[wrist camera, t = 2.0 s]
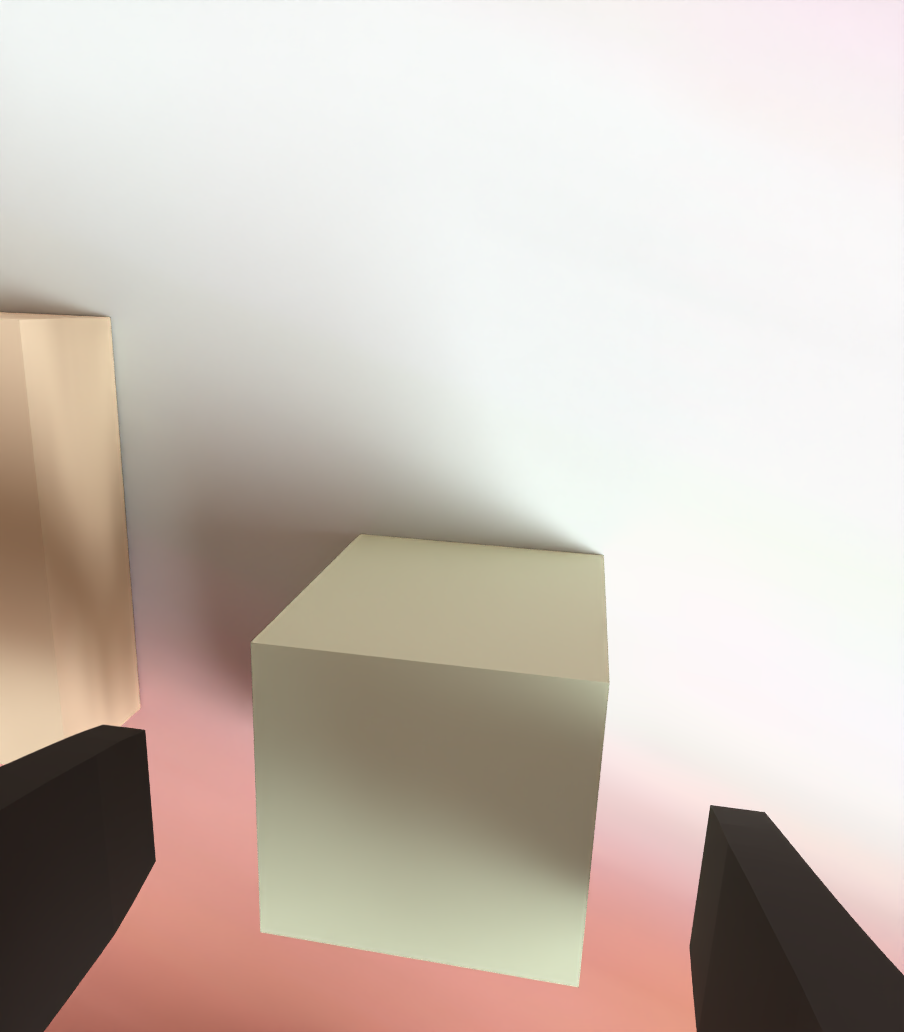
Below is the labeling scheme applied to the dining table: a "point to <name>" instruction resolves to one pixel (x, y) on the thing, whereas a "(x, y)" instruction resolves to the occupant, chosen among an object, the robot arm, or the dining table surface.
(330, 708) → the sage cube
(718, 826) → the robot arm
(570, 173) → the dining table surface
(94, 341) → the birch slab
